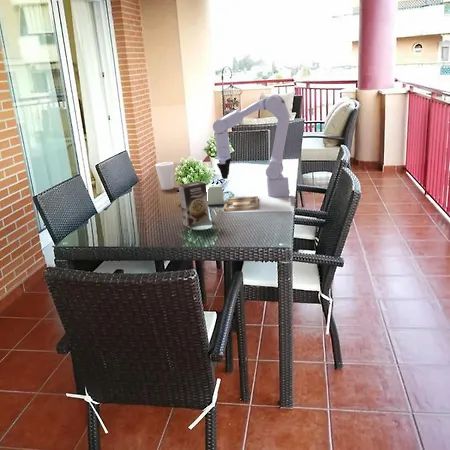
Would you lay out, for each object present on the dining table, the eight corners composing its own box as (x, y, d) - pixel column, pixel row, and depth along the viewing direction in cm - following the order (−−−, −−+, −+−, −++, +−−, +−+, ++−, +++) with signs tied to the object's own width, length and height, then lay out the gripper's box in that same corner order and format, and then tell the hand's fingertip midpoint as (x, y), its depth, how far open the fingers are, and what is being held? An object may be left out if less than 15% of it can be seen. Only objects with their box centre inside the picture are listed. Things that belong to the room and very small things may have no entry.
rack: (258, 201, 210) (257, 196, 209) (258, 212, 195) (257, 206, 194) (226, 203, 211) (226, 198, 211) (223, 214, 196) (223, 208, 196)
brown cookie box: (189, 228, 183) (184, 187, 178) (182, 224, 189) (177, 184, 184) (210, 223, 187) (206, 182, 182) (203, 219, 193) (199, 180, 188)
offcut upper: (250, 205, 200) (249, 200, 199) (250, 208, 196) (249, 203, 196) (233, 206, 200) (232, 202, 200) (233, 209, 197) (232, 205, 196)
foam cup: (155, 190, 250) (152, 165, 246) (164, 186, 258) (160, 162, 254) (171, 190, 246) (168, 165, 242) (179, 186, 254) (176, 161, 250)
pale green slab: (224, 205, 210) (222, 185, 207) (223, 206, 208) (221, 186, 205) (206, 206, 211) (203, 186, 208) (205, 207, 209) (203, 187, 206)
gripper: (215, 144, 219) (218, 174, 223) (212, 150, 205) (215, 181, 209) (230, 143, 218) (233, 172, 223) (228, 148, 205) (231, 179, 209)
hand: (225, 176), depth 216 cm, fingers open, 7 cm apart
